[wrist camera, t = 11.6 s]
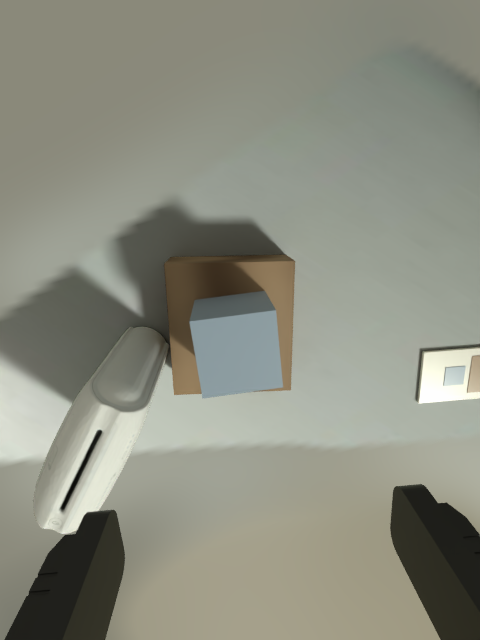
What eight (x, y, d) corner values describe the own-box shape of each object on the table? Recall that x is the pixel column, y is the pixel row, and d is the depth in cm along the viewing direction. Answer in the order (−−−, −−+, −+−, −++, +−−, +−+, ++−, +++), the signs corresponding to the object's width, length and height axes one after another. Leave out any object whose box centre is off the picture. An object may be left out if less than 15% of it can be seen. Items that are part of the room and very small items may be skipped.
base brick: (284, 254, 29) (294, 261, 25) (282, 368, 32) (290, 390, 28) (171, 256, 28) (164, 263, 24) (179, 371, 31) (174, 394, 27)
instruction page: (521, 343, 32) (524, 345, 31) (511, 393, 33) (514, 395, 33) (422, 351, 31) (424, 352, 31) (417, 401, 33) (419, 403, 33)
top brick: (264, 290, 25) (276, 310, 20) (271, 355, 27) (282, 387, 22) (194, 299, 25) (189, 321, 20) (205, 364, 27) (202, 398, 22)
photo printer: (129, 434, 32) (77, 564, 20) (83, 416, 31) (2, 540, 20) (178, 338, 30) (151, 423, 18) (129, 316, 29) (69, 389, 17)
